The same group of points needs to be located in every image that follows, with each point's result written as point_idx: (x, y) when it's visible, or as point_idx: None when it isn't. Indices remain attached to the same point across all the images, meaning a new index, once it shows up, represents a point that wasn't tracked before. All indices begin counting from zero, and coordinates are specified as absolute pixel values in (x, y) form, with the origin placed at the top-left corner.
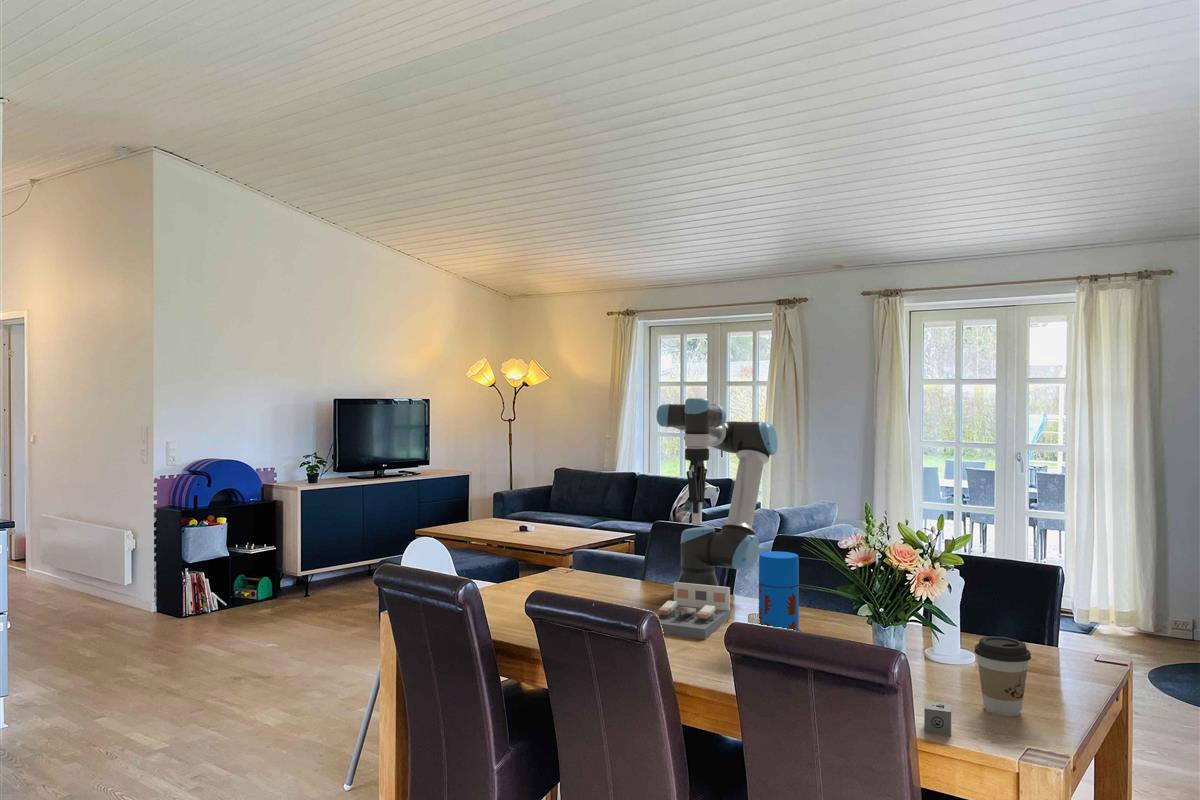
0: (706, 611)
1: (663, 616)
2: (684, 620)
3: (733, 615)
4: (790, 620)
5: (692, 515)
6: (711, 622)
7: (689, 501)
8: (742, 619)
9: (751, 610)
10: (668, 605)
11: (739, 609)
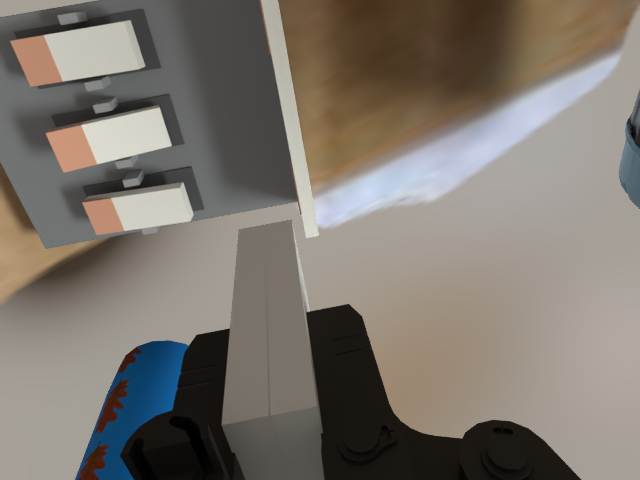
0: (123, 220)
1: None
2: None
3: (364, 171)
4: None
5: (236, 284)
6: None
7: (135, 443)
8: (333, 213)
9: (451, 187)
10: (78, 56)
11: (447, 151)
